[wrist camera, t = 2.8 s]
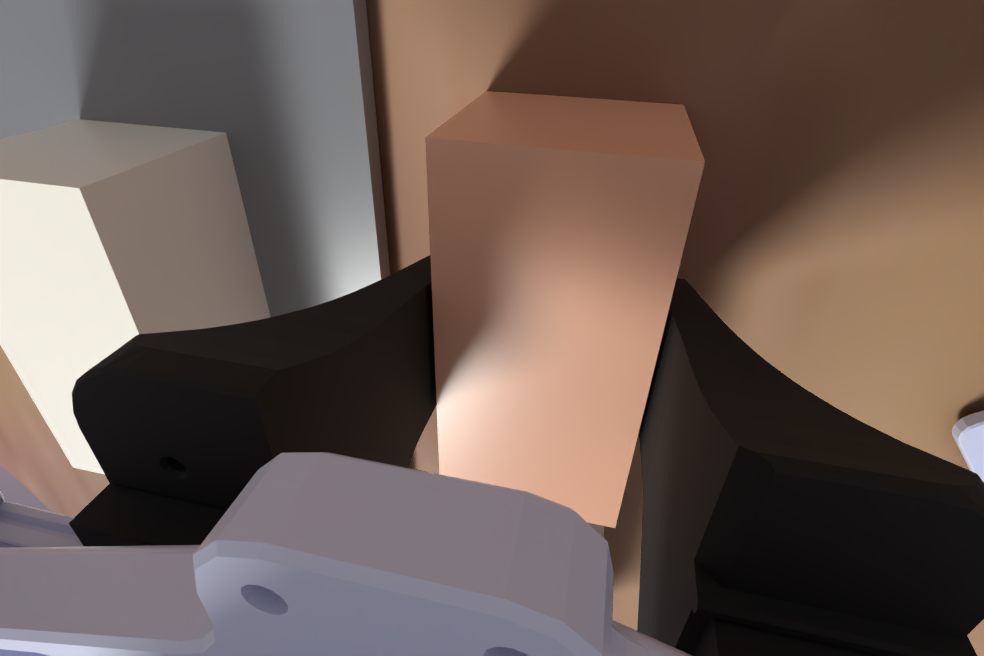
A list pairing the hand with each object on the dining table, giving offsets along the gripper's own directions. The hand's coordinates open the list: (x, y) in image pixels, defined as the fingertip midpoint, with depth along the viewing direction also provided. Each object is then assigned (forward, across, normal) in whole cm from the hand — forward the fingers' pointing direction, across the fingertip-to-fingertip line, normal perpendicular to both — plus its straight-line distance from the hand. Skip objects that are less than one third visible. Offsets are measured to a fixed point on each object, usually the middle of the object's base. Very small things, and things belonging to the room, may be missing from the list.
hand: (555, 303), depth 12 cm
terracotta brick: (+2, 0, 0) cm, 2 cm away
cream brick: (+1, +10, +1) cm, 10 cm away
